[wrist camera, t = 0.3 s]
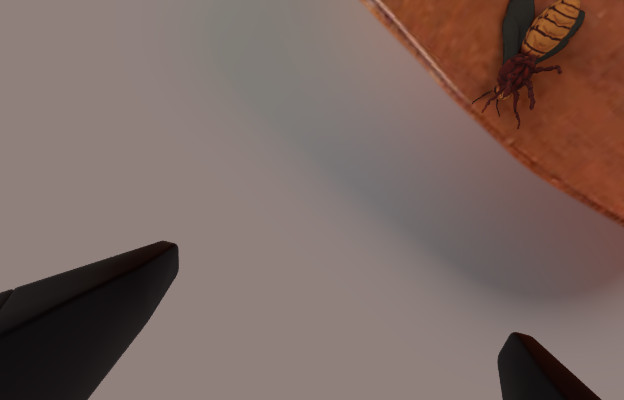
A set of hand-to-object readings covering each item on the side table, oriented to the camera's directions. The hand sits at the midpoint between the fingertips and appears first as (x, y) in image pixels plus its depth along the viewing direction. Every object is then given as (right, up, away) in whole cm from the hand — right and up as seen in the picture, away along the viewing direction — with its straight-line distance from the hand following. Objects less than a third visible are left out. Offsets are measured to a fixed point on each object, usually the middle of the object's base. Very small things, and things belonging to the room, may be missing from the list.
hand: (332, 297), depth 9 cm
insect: (+10, +8, +6) cm, 14 cm away
